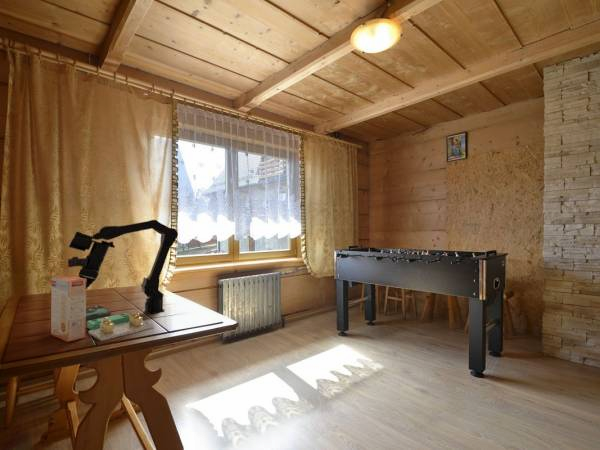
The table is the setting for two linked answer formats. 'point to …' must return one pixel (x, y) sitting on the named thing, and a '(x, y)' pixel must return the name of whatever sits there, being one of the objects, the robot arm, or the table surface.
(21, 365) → the table surface
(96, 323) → the board
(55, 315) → the cracker box
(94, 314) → the disk drive
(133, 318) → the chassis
